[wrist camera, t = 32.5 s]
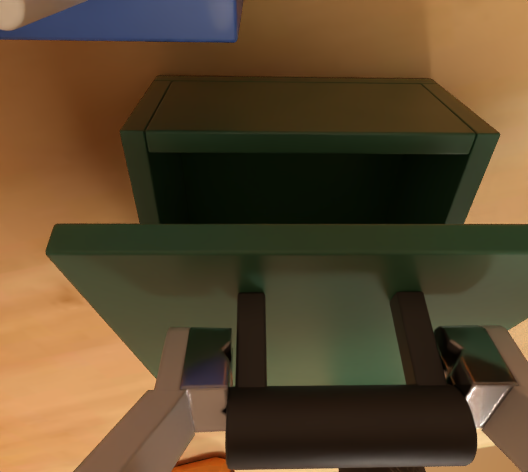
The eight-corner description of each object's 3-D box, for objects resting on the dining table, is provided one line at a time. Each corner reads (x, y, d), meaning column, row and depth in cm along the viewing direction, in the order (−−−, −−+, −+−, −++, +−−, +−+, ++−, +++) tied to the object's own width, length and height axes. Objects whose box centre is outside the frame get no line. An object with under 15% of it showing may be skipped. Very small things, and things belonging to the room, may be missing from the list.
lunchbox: (156, 75, 18) (118, 130, 13) (432, 78, 18) (501, 133, 13) (189, 298, 26) (174, 382, 21) (372, 297, 27) (399, 380, 22)
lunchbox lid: (53, 222, 8) (-31, 468, 6) (618, 222, 9) (763, 455, 6) (174, 382, 21) (163, 481, 19) (400, 380, 22) (419, 477, 19)
